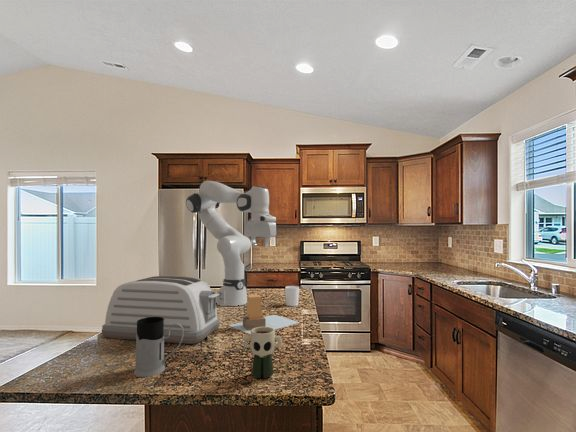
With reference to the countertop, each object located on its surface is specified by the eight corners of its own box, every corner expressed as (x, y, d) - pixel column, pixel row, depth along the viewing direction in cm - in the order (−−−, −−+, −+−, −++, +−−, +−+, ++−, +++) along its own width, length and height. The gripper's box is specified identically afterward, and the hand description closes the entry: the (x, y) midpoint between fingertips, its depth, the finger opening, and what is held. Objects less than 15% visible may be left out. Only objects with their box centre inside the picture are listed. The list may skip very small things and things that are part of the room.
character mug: (242, 381, 90) (242, 334, 91) (245, 370, 97) (245, 326, 98) (281, 380, 90) (281, 333, 91) (281, 369, 97) (281, 326, 98)
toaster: (203, 347, 117) (203, 284, 118) (96, 339, 126) (98, 281, 127) (227, 328, 139) (227, 276, 140) (135, 322, 148) (136, 273, 149)
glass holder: (140, 364, 101) (141, 316, 102) (186, 363, 102) (187, 315, 103) (128, 377, 93) (129, 324, 93) (179, 375, 94) (179, 323, 94)
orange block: (247, 316, 139) (247, 295, 139) (258, 315, 141) (258, 294, 141) (249, 319, 134) (249, 297, 135) (261, 318, 136) (261, 296, 136)
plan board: (228, 327, 139) (228, 325, 139) (274, 316, 157) (274, 314, 157) (253, 338, 126) (253, 335, 126) (300, 324, 143) (300, 322, 143)
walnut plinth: (242, 325, 140) (242, 315, 140) (260, 323, 142) (260, 314, 143) (246, 330, 132) (246, 320, 132) (265, 328, 135) (265, 318, 135)
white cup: (293, 307, 176) (293, 288, 176) (282, 305, 180) (282, 287, 181) (302, 304, 182) (301, 286, 182) (290, 302, 187) (290, 285, 187)
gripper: (243, 218, 165) (242, 245, 164) (268, 217, 149) (268, 247, 149) (253, 219, 169) (252, 245, 168) (278, 217, 154) (278, 246, 153)
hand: (260, 246), depth 158 cm, fingers open, 8 cm apart
